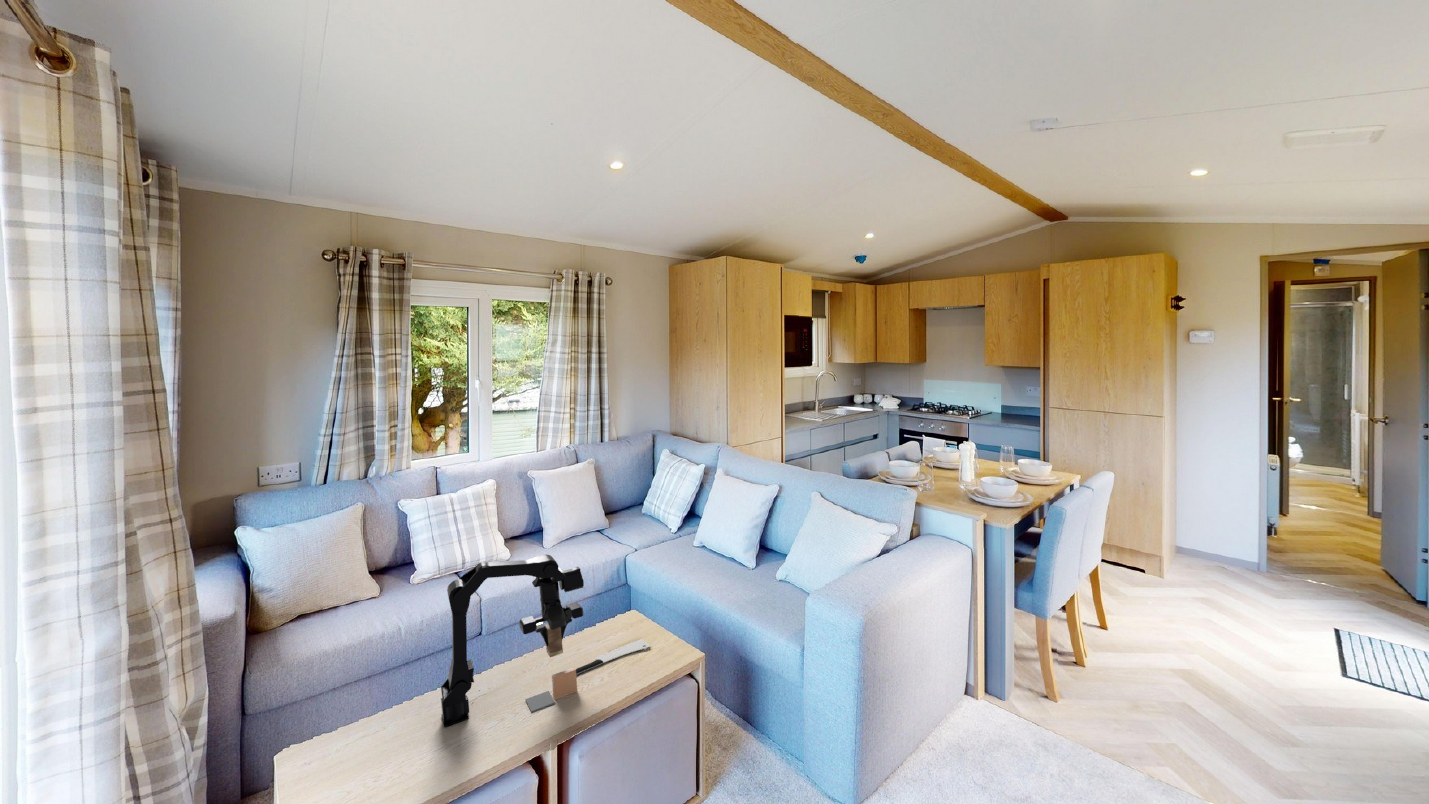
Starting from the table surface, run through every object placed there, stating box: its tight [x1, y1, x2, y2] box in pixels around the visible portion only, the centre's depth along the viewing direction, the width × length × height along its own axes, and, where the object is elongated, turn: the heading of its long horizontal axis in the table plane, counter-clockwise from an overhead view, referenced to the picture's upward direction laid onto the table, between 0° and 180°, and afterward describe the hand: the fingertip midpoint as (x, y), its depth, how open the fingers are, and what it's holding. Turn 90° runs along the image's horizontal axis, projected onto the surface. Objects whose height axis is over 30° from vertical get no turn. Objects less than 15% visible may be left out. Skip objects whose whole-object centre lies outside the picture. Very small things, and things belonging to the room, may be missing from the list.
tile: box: [551, 667, 578, 700], centre depth 167 cm, size 7×2×7 cm, turn 123°
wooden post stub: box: [544, 623, 564, 658], centre depth 171 cm, size 4×4×9 cm
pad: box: [525, 690, 556, 713], centre depth 163 cm, size 7×7×1 cm
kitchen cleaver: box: [575, 638, 651, 676], centre depth 186 cm, size 31×2×10 cm
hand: (554, 643), depth 171 cm, fingers closed on wooden post stub, 4 cm apart
